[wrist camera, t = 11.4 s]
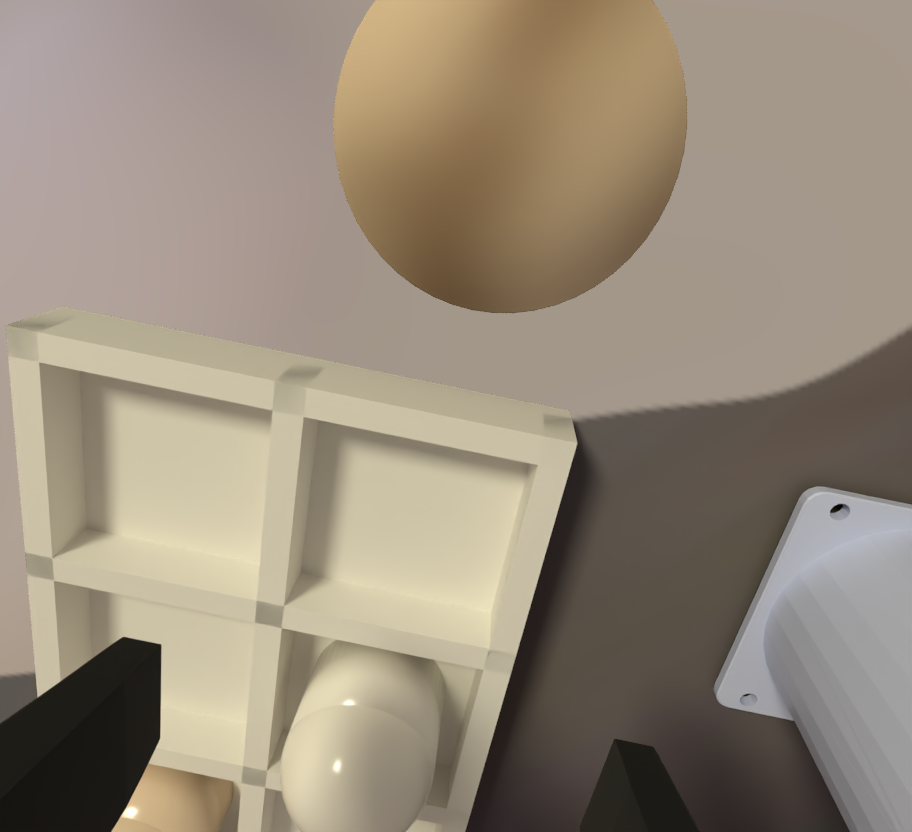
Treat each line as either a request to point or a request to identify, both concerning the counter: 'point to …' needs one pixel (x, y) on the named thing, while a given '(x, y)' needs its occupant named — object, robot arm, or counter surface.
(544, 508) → the egg box
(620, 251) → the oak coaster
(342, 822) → the egg
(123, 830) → the egg
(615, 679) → the counter surface
